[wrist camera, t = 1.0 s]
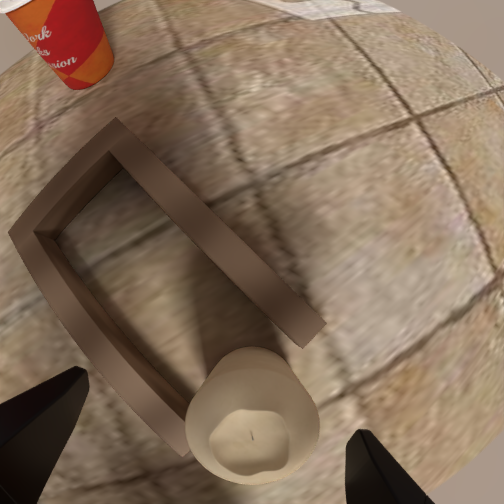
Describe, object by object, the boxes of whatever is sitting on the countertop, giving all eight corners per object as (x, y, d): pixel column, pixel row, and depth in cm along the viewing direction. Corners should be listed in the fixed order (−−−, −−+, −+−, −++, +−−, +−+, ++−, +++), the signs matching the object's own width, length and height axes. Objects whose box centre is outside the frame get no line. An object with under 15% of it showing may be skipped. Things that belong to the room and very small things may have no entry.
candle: (249, 328, 20) (248, 342, 11) (310, 382, 20) (357, 434, 10) (193, 386, 20) (147, 441, 10) (254, 437, 19) (255, 521, 9)
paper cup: (50, 77, 25) (-10, -7, 11) (107, 35, 26) (65, -58, 12) (71, 112, 24) (-6, 13, 10) (137, 64, 25) (90, -51, 11)
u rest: (316, 322, 20) (326, 323, 18) (190, 440, 19) (182, 457, 16) (128, 136, 23) (115, 117, 20) (29, 240, 22) (7, 232, 19)
